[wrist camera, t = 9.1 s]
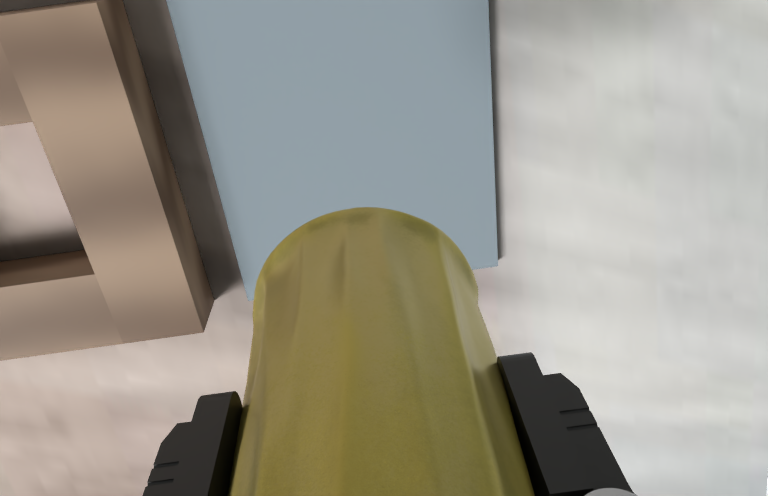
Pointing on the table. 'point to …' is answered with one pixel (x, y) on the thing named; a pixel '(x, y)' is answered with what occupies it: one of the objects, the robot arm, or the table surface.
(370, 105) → the mat
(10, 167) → the table surface
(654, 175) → the table surface
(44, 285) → the pocket block
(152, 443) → the table surface
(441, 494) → the vase
